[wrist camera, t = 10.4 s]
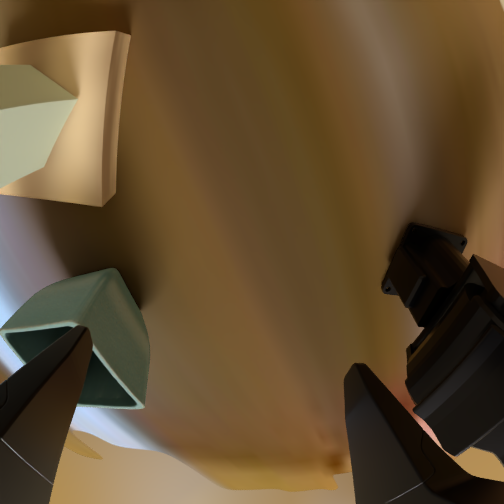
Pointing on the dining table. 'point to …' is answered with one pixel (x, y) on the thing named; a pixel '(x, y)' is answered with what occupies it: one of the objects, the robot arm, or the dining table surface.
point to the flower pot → (102, 333)
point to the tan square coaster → (78, 115)
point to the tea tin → (29, 119)
